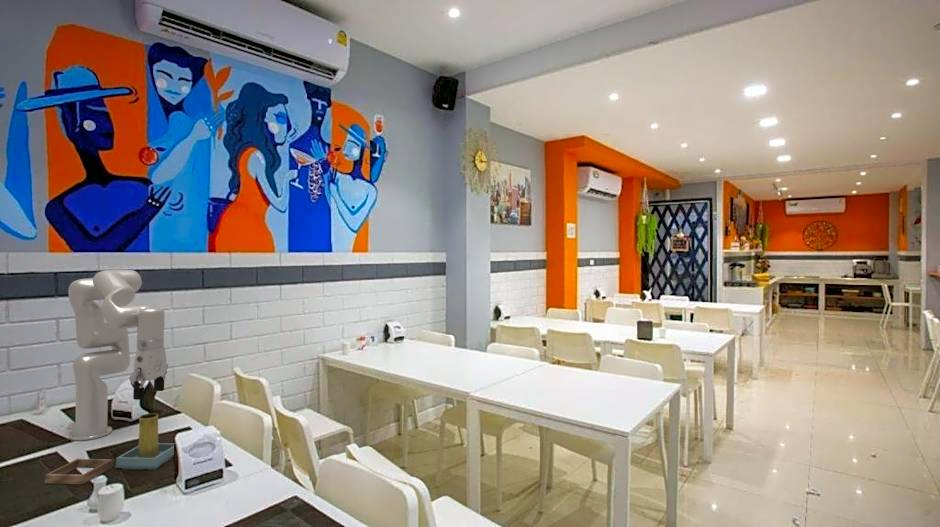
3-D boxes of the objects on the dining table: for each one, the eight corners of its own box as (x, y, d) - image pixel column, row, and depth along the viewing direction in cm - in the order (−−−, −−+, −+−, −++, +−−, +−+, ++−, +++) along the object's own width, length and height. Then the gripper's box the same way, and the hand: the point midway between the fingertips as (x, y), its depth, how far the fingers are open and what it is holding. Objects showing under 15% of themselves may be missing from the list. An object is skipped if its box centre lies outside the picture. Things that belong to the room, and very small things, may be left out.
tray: (115, 468, 151) (116, 458, 151) (143, 452, 164) (143, 442, 163) (154, 469, 151) (154, 459, 151) (179, 453, 163) (179, 443, 163)
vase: (148, 462, 154) (148, 419, 153) (132, 460, 155) (132, 418, 155) (163, 454, 160) (164, 413, 159) (148, 453, 161) (148, 412, 160)
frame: (44, 483, 141) (44, 475, 141) (77, 466, 152) (77, 458, 152) (82, 484, 140) (82, 476, 140) (112, 467, 152) (112, 459, 152)
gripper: (143, 350, 148) (141, 403, 148) (177, 340, 165) (176, 388, 166) (119, 349, 148) (118, 402, 149) (156, 339, 166) (155, 387, 166)
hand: (149, 394), depth 157 cm, fingers open, 9 cm apart
